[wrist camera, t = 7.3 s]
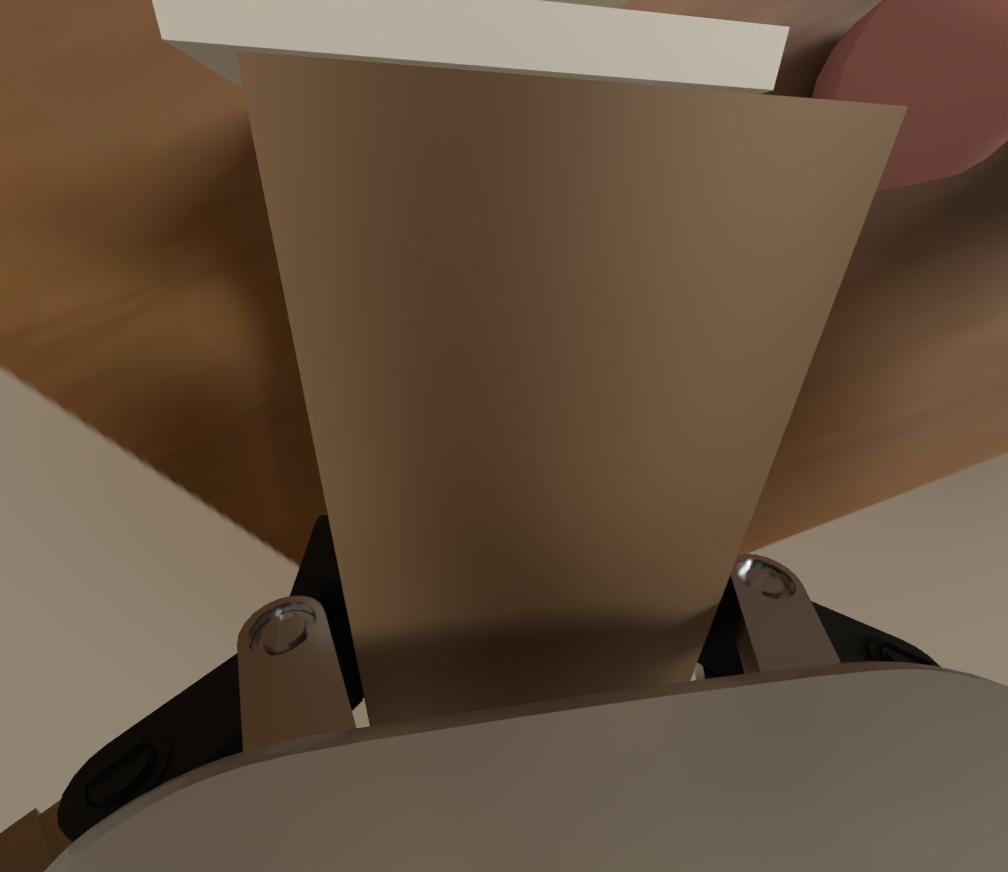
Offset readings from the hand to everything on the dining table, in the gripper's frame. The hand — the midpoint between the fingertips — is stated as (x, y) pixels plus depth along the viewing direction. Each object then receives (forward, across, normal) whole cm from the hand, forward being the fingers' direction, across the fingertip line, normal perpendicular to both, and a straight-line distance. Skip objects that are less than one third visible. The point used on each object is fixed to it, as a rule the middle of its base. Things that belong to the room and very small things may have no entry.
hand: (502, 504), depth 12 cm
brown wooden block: (0, 0, 0) cm, 0 cm away
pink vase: (+15, -19, -12) cm, 27 cm away
